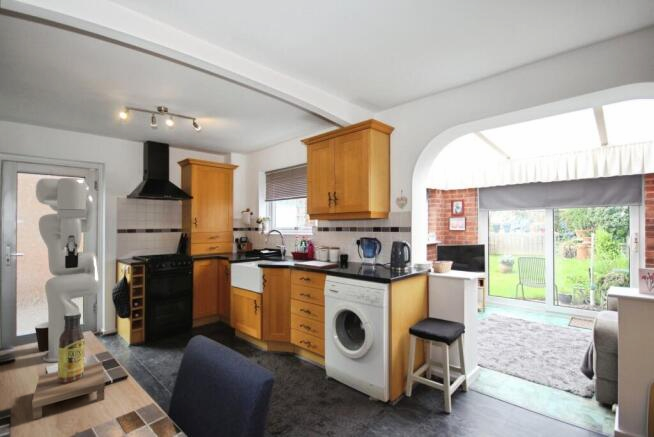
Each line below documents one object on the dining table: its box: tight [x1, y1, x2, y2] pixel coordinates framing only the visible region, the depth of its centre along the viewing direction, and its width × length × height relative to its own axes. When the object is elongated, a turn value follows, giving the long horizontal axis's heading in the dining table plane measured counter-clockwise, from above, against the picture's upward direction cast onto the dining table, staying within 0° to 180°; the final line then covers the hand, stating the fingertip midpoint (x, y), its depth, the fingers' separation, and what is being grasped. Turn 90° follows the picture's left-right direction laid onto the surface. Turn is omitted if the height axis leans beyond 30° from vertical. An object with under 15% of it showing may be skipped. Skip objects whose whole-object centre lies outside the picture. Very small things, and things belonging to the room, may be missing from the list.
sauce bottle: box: [57, 311, 86, 383], centre depth 97 cm, size 6×6×20 cm
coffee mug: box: [34, 321, 49, 353], centre depth 133 cm, size 12×9×10 cm
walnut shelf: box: [31, 361, 106, 420], centre depth 97 cm, size 18×16×5 cm
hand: (72, 266), depth 107 cm, fingers open, 9 cm apart
